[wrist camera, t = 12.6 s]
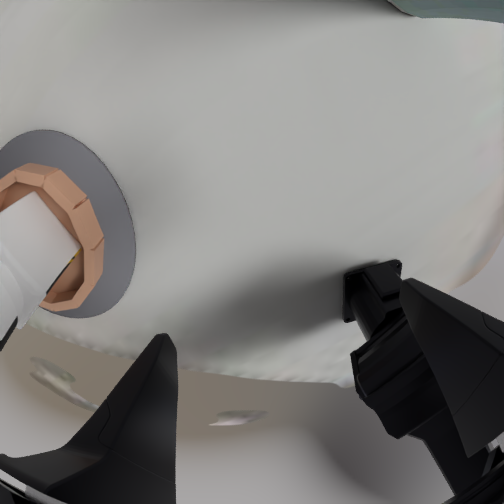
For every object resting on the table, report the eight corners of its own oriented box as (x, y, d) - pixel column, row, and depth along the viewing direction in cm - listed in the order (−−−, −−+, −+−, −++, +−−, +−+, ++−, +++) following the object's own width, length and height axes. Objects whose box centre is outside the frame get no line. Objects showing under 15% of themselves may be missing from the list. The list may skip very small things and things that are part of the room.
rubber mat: (168, 302, 25) (167, 305, 24) (36, 322, 25) (35, 324, 25) (93, 89, 15) (91, 89, 15) (-33, 179, 15) (-35, 181, 15)
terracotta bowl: (127, 285, 23) (120, 300, 21) (35, 303, 23) (27, 315, 22) (69, 139, 16) (55, 143, 14) (-17, 195, 16) (-30, 203, 15)
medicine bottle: (51, 284, 22) (-4, 373, 11) (8, 235, 19) (-62, 308, 8) (84, 246, 20) (13, 348, 10) (35, 187, 17) (-61, 260, 7)
